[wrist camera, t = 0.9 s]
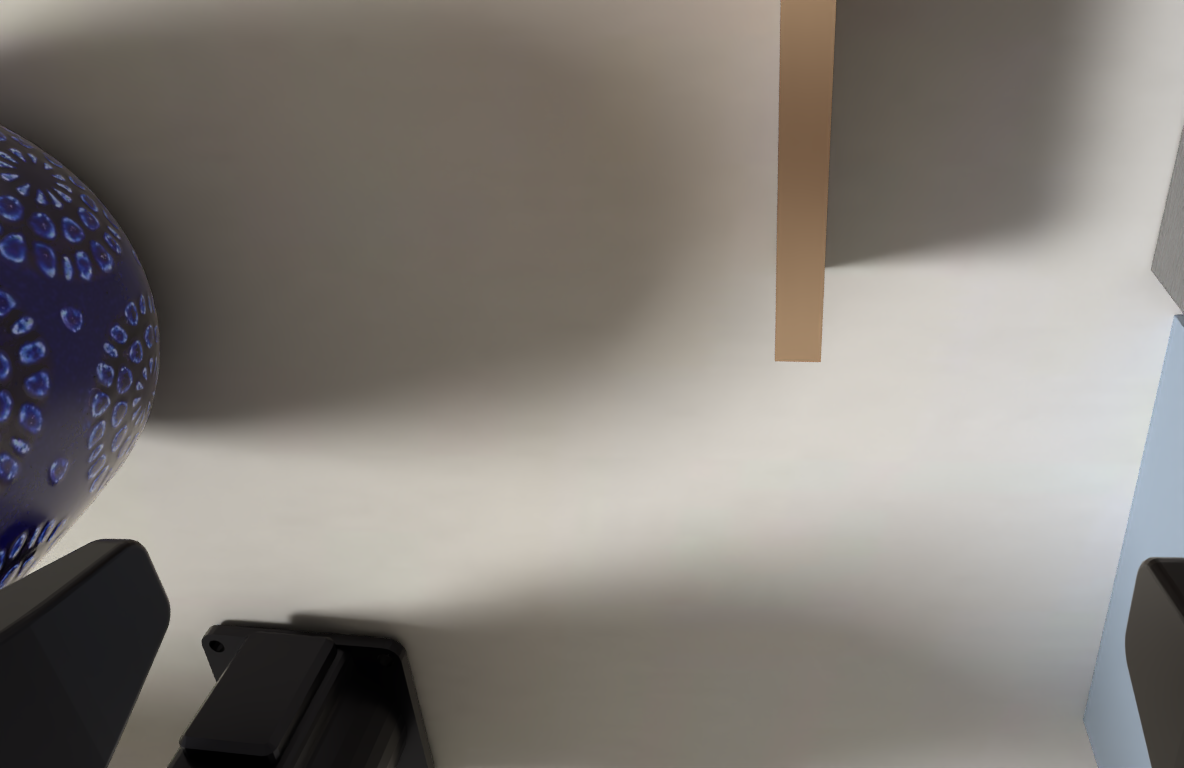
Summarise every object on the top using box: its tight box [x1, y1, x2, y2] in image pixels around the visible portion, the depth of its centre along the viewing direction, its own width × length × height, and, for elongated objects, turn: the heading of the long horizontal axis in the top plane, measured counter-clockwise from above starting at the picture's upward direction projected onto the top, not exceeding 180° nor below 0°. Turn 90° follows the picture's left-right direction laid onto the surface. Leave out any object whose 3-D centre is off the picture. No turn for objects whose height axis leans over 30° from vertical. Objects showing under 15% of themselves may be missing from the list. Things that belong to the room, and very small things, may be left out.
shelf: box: [775, 0, 836, 362], centre depth 16 cm, size 10×16×4 cm, turn 94°
